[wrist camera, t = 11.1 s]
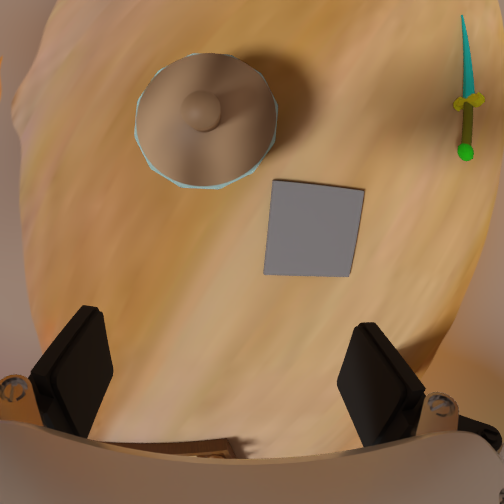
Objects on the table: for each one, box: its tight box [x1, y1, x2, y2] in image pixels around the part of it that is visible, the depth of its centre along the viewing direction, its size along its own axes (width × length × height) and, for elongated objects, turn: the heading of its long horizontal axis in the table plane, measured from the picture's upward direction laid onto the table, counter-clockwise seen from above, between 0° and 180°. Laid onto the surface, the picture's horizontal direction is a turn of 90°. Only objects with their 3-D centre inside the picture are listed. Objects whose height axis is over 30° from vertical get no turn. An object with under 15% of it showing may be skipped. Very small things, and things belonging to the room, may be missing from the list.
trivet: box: [263, 180, 364, 277], centre depth 37 cm, size 12×12×1 cm
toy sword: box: [453, 15, 485, 161], centre depth 28 cm, size 3×6×30 cm
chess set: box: [102, 438, 237, 459], centre depth 50 cm, size 40×40×15 cm
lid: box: [136, 53, 276, 186], centre depth 21 cm, size 12×12×6 cm
